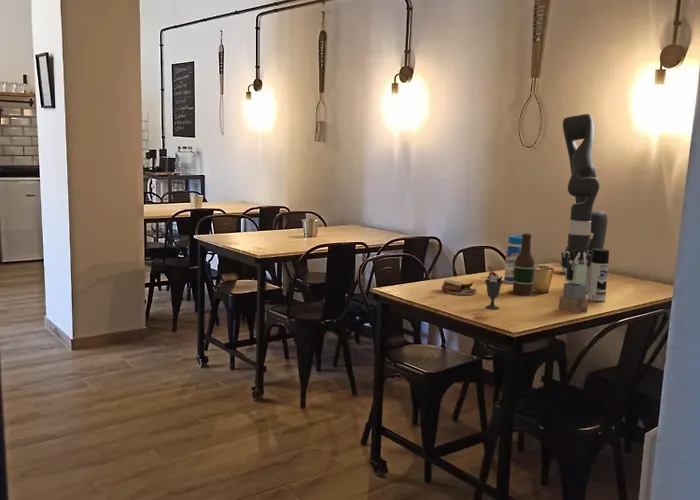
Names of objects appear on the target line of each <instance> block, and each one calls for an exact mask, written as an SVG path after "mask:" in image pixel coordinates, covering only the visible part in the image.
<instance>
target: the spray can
mask: <svg viewBox="0 0 700 500" xmlns="http://www.w3.org/2000/svg"><path fill="white" fill-rule="evenodd" d="M591 251H594V254H593V258H592V261H591V265H590V271H589V284H588V292H587V295H586V298H587V299H588V301H592V302H596V301H598V303H600V302H601V301H602V302H605V301H606V296H607V294H606V293H607V285H608V273H609V258H610V250H609V249H606V248H603V249H599V248H595V249H592V250H591Z"/></svg>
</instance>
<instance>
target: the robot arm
mask: <svg viewBox="0 0 700 500" xmlns="http://www.w3.org/2000/svg"><path fill="white" fill-rule="evenodd" d="M562 130H563V136H564V139H565V140H564V141H565V144H566V149H567V155H568V159H569V167H570V175H571V176H570V179H569V181H568V183H567V192H568V194H569V195H571V196H572V197H575V203H573V204H571V209H570V219H569V223H568V234H567V235H568V236H567V246H568V245H569V249H568V251H566V252H564V251H561V260H562V266H563V268H566V269H567V276H566V277H567V279H568V280H573V269H574V265H575V264H576V263H577V262H578V263H581V264H585V265H587V272H586V283H581V284H584V285H587V287H586V293H588V284H589V271H590V265H591V261H592V258H593V254H594V251H591V250H592V249H595V248H599V249H604V246H605V241H606V235H607V229H608V215H607V213H606V211H605V212H604V211H601V210H593V206H594V203H595V200H596V197H597V196H598V193H599V191H600V185H601V184H600V181H599V179H598V178H597V171H596V166H595V165H594V163H593V149H594V148H593V147H594V138H595V124H594V120H593V117H592V115H591V114H590V113H583V114H578V115H573V116H572V115H571V116H567V117H564V118H563V120H562ZM579 140H582V142H581V143H580V145H579V146H578V145H577V143H576V141H579ZM591 234H593V236H592V237H591ZM571 260H573V261H571ZM571 263H572V264H571ZM570 264H571V266H570Z"/></svg>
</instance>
